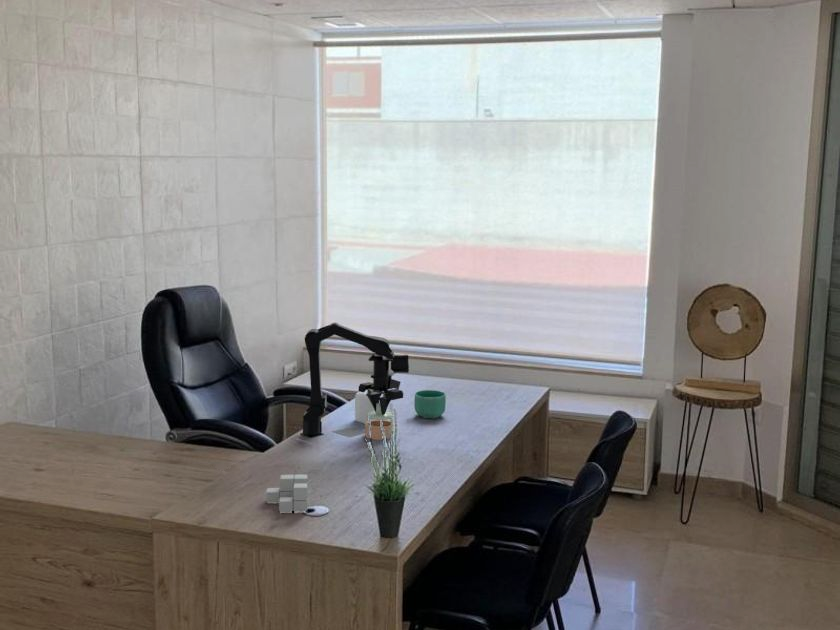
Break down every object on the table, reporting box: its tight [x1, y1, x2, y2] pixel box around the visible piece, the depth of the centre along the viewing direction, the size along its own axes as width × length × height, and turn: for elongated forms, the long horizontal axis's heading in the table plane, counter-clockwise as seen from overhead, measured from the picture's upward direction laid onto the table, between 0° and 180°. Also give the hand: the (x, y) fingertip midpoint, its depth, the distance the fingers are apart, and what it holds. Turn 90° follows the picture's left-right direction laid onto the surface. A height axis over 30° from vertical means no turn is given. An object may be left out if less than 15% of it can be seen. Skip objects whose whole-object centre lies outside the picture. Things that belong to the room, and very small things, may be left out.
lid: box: [367, 402, 393, 420], centre depth 352 cm, size 10×10×5 cm
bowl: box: [364, 419, 397, 441], centre depth 353 cm, size 11×11×5 cm
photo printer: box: [354, 391, 375, 425], centre depth 371 cm, size 10×4×12 cm, turn 39°
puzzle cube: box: [265, 474, 308, 512], centre depth 278 cm, size 12×12×8 cm
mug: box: [413, 389, 447, 420], centre depth 385 cm, size 17×13×10 cm
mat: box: [331, 426, 365, 438], centre depth 358 cm, size 10×10×1 cm
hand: (380, 413), depth 352 cm, fingers closed on lid, 3 cm apart
